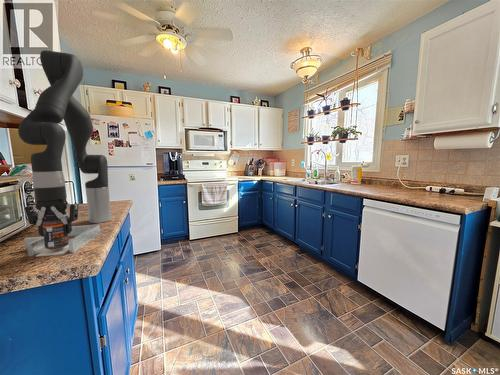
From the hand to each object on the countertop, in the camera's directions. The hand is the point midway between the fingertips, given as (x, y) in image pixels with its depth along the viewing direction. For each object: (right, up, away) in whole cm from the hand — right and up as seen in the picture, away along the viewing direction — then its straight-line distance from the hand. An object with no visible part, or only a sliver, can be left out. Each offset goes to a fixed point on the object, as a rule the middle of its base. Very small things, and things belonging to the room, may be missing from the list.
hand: (56, 234), depth 69 cm
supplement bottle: (0, -4, +1) cm, 4 cm away
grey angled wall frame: (-4, -5, +6) cm, 9 cm away
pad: (0, -5, +1) cm, 5 cm away
